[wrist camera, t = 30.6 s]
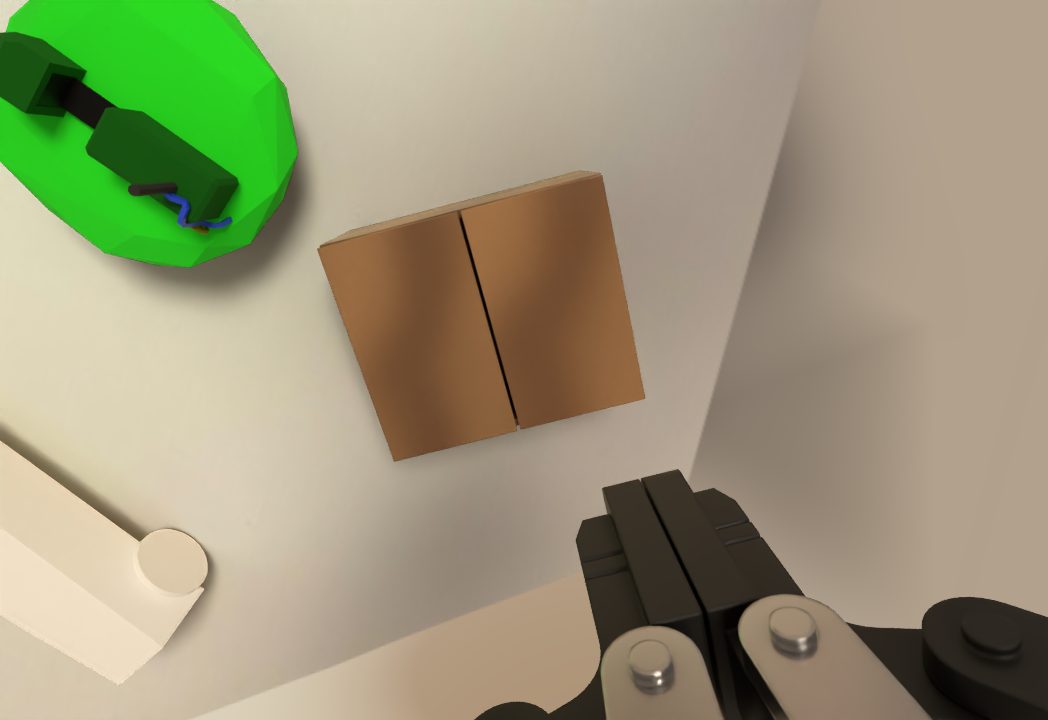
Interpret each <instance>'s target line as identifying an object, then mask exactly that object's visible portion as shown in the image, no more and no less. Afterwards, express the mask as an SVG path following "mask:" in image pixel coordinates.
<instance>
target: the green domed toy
mask: <svg viewBox="0 0 1048 720" xmlns="http://www.w3.org/2000/svg"><path fill="white" fill-rule="evenodd" d="M297 155H298V149H297V144H296V138H295V133H294V127H293V122H292V116H291V111H290V105H289V100H288V94H287V89H286V87H285V85H284V84H283V83H282V81H281V80H280V78H279V77H278V76H277V74H276V73H275V71H274V70H273V68H272V67H271V66H270V64H269V63H268V61H267V60H266V58H265V57H264V56H263V54H262V53H261V51H260V50H259V49H258V47H257V46H256V44H255V43H254V41H253V40H252V39H251V37H250V36H249V34H248V33H247V31H246V30H245V29H244V27H243V26H242V24H241V23H240V22H239V20H238V19H237V17H236V16H235V15H234V14H233V13H231V12H230V11H228V10H227V9H225V8H223V7H222V6H220V5H219V4H217V3H216V2H214V1H213V0H29V1H28V2H27V3H26V4H25V5H24V6H23V7H22V8H20V9H19V10H18V11H17V12H16V13H15V14H14V15H13V16H12V17H11V18H10V19H9V23H8V26H7V30H6V32H5V33H0V162H1V163H2V164H3V165H4V166H5V167H6V168H7V169H8V170H9V171H10V172H11V173H12V174H13V175H14V176H15V177H16V178H17V179H18V180H19V181H20V182H21V183H22V184H23V185H24V186H25V187H26V188H27V189H28V190H29V191H30V192H31V193H32V194H33V195H34V196H35V197H36V198H37V199H38V200H39V201H40V202H41V203H42V204H43V205H44V206H45V207H46V208H47V209H48V210H50V211H51V212H52V213H54V214H55V215H56V216H57V217H59V218H60V219H61V220H63V221H64V222H65V223H67V224H68V225H69V226H70V227H72V228H73V229H74V230H76V231H77V232H78V233H79V234H81V235H82V236H83V237H85V238H86V239H87V240H89V241H90V242H91V243H92V244H94V245H95V246H96V247H98V248H99V249H100V250H102V251H103V252H104V253H107V254H111V255H116V256H120V257H124V258H128V259H133V260H137V261H141V262H145V263H150V264H154V265H162V266H176V267H193V266H195V265H198V264H201V263H203V262H206V261H208V260H211V259H213V258H216V257H219V256H221V255H224V254H226V253H229V252H231V251H234V250H237V249H239V248H242V247H244V246H247V245H249V244H250V243H251V242H252V241H253V239H254V238H255V237H256V235H257V234H258V233H259V231H260V230H261V229H262V228H263V226H264V225H265V224H266V222H267V221H268V220H269V218H270V217H271V216H272V214H273V213H274V212H275V210H276V209H277V208H278V206H279V205H280V204H281V202H282V201H283V199H284V195H285V192H286V189H287V186H288V183H289V180H290V177H291V174H292V170H293V167H294V164H295V161H296V158H297Z"/></svg>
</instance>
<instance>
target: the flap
mask: <svg viewBox="0 0 1048 720" xmlns="http://www.w3.org/2000/svg"><path fill="white" fill-rule="evenodd" d="M461 215H462V219H463V223H464V226H465V230H466V234H467V237H468V241H469V244H470V248H471V252H472V255H473V259H474V263H475V266H476V270H477V273H478V277H479V281H480V284H481V288H482V292H483V295H484V299H485V302H486V306H487V310H488V313H489V317H490V321H491V324H492V328H493V331H494V335H495V339H496V342H497V346H498V350H499V353H500V357H501V360H502V364H503V368H504V371H505V375H506V379H507V382H508V386H509V389H510V393H511V397H512V400H513V404H514V408H515V411H516V415H517V419H518V422H519V426H520V429H525V428H529V427H533V426H537V425H541V424H545V423H549V422H553V421H557V420H561V419H566V418H570V417H574V416H578V415H582V414H586V413H590V412H594V411H598V410H602V409H606V408H610V407H614V406H618V405H622V404H626V403H630V402H634V401H638V400H642V399H645V394H644V389H643V384H642V379H641V373H640V368H639V363H638V358H637V353H636V348H635V342H634V337H633V332H632V327H631V322H630V317H629V311H628V306H627V301H626V296H625V291H624V286H623V280H622V275H621V270H620V265H619V260H618V255H617V249H616V244H615V239H614V234H613V229H612V224H611V218H610V213H609V208H608V203H607V198H606V193H605V187H604V182H603V177H602V175H596V176H593V177H589V178H585V179H581V180H577V181H573V182H569V183H566V184H562V185H558V186H554V187H550V188H546V189H543V190H539V191H535V192H531V193H527V194H523V195H519V196H516V197H512V198H508V199H504V200H500V201H496V202H493V203H489V204H485V205H481V206H477V207H473V208H469V209H466V210H462V211H461Z"/></svg>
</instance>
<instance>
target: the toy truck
mask: <svg viewBox="0 0 1048 720" xmlns="http://www.w3.org/2000/svg"><path fill="white" fill-rule="evenodd" d="M207 570H208V563H207V559H206V555H205V553H204V551H203V550H202V548H201V547H200V545H199V544H198V543H197V542H196V541H195V540H194V539H193V538H191V537H190V536H188V535H186V534H184V533H183V532H180V531H176V530H172V529H161V530H157V531H154V532H151V533H150V534H149V535H147V536H146V537H145V538H143V539H142V540H141V541H140V542H139V541H137V540H136V539H135V538H133V537H132V536H131V535H129V534H128V533H126V532H125V531H124V530H122V529H121V528H120V527H118V526H117V525H115V524H114V523H113V522H111V521H110V520H109V519H107V518H106V517H104V516H103V515H102V514H100V513H99V512H98V511H96V510H95V509H94V508H92V507H91V506H89V505H88V504H87V503H85V502H84V501H83V500H81V499H80V498H78V497H77V496H76V495H74V494H73V493H72V492H70V491H69V490H67V489H66V488H65V487H63V486H62V485H61V484H59V483H58V482H56V481H55V480H54V479H52V478H51V477H50V476H48V475H47V474H45V473H44V472H43V471H41V470H40V469H39V468H37V467H36V466H34V465H33V464H32V463H30V462H29V461H28V460H26V459H25V458H23V457H22V456H21V455H19V454H18V453H17V452H15V451H14V450H12V449H11V448H10V447H8V446H7V445H6V444H4V443H3V442H1V441H0V616H2V617H3V618H5V619H7V620H8V621H10V622H12V623H13V624H15V625H17V626H19V627H20V628H22V629H24V630H25V631H27V632H29V633H31V634H32V635H34V636H36V637H37V638H39V639H41V640H42V641H44V642H46V643H48V644H49V645H51V646H53V647H54V648H56V649H58V650H59V651H61V652H63V653H65V654H66V655H68V656H70V657H71V658H73V659H75V660H76V661H78V662H80V663H82V664H83V665H85V666H87V667H88V668H90V669H92V670H93V671H95V672H97V673H99V674H100V675H102V676H104V677H105V678H107V679H109V680H111V681H112V682H114V683H116V684H117V685H120V684H121V683H122V682H124V681H125V680H126V679H127V678H128V677H129V676H130V675H132V674H133V673H134V672H135V671H136V670H137V669H139V668H140V667H141V666H142V665H143V664H144V663H146V662H147V661H148V660H149V659H150V658H151V657H152V656H154V655H155V654H156V653H157V652H158V651H159V650H161V649H162V648H163V647H164V645H165V644H166V642H167V641H168V640H169V638H170V637H171V635H172V634H173V633H174V631H175V630H176V628H177V627H178V626H179V624H180V623H181V621H182V620H183V619H184V617H185V616H186V614H187V613H188V612H189V610H190V609H191V607H192V606H193V605H194V603H195V602H196V600H197V599H198V598H199V596H200V595H201V593H202V592H203V591H204V589H203V588H202V587H201V586H200V585H201V584H202V583H203V582H204V580H205V577H206V575H207Z"/></svg>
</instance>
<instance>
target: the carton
mask: <svg viewBox="0 0 1048 720" xmlns="http://www.w3.org/2000/svg"><path fill="white" fill-rule="evenodd" d="M596 175H601V173H597V172H588V171H576V172H573V173H569V174H565V175H561V176H557V177H553V178H550V179H546V180H542V181H538V182H534V183H530V184H527V185H523V186H519V187H515V188H511V189H507V190H504V191H500V192H496V193H492V194H488V195H484V196H481V197H477V198H473V199H469V200H465V201H461V202H458V203H454V204H450V205H446V206H442V207H438V208H435V209H431V210H427V211H423V212H419V213H415V214H412V215H408V216H404V217H400V218H396V219H392V220H389V221H385V222H381V223H377V224H373V225H369V226H366V227H362V228H358V229H354V230H350V231H348V232H346V233H344V234H342V235H340V236H338V237H336V238H334V239H332V240H330V241H328V242H326V243H324V244H322V245H320V248H318V249H317V250H318V253H319V256H320V258H321V261H322V264H323V267H324V269H325V272H326V275H327V278H328V281H329V283H330V286H331V289H332V292H333V294H334V297H335V300H336V303H337V305H338V308H339V311H340V314H341V316H342V319H343V322H344V325H345V327H346V330H347V333H348V336H349V338H350V341H351V344H352V347H353V349H354V352H355V355H356V358H357V360H358V363H359V366H360V369H361V372H362V374H363V377H364V380H365V383H366V385H367V388H368V391H369V394H370V396H371V399H372V402H373V405H374V407H375V410H376V413H377V416H378V418H379V421H380V424H381V427H382V429H383V432H384V435H385V438H386V440H387V443H388V446H389V449H390V451H391V454H392V457H393V460H394V462H395V461H399V460H403V459H407V458H411V457H415V456H419V455H423V454H427V453H431V452H435V451H439V450H443V449H447V448H451V447H455V446H459V445H463V444H467V443H471V442H475V441H479V440H483V439H487V438H491V437H495V436H499V435H503V434H507V433H511V432H515V431H517V425H519V422H518V419H517V415H516V411H515V408H514V404H513V400H512V397H511V393H510V389H509V386H508V382H507V379H506V375H505V371H504V368H503V364H502V360H501V357H500V353H499V350H498V346H497V342H496V339H495V335H494V331H493V328H492V324H491V321H490V317H489V313H488V310H487V306H486V302H485V299H484V295H483V292H482V288H481V284H480V281H479V277H478V273H477V270H476V266H475V263H474V259H473V255H472V252H471V248H470V244H469V241H468V237H467V234H466V230H465V226H464V223H463V219H462V215H461V211H462V210H466V209H469V208H473V207H477V206H481V205H485V204H489V203H493V202H496V201H500V200H504V199H508V198H512V197H516V196H519V195H523V194H527V193H531V192H535V191H539V190H543V189H546V188H550V187H554V186H558V185H562V184H566V183H569V182H573V181H577V180H581V179H585V178H589V177H593V176H596Z"/></svg>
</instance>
